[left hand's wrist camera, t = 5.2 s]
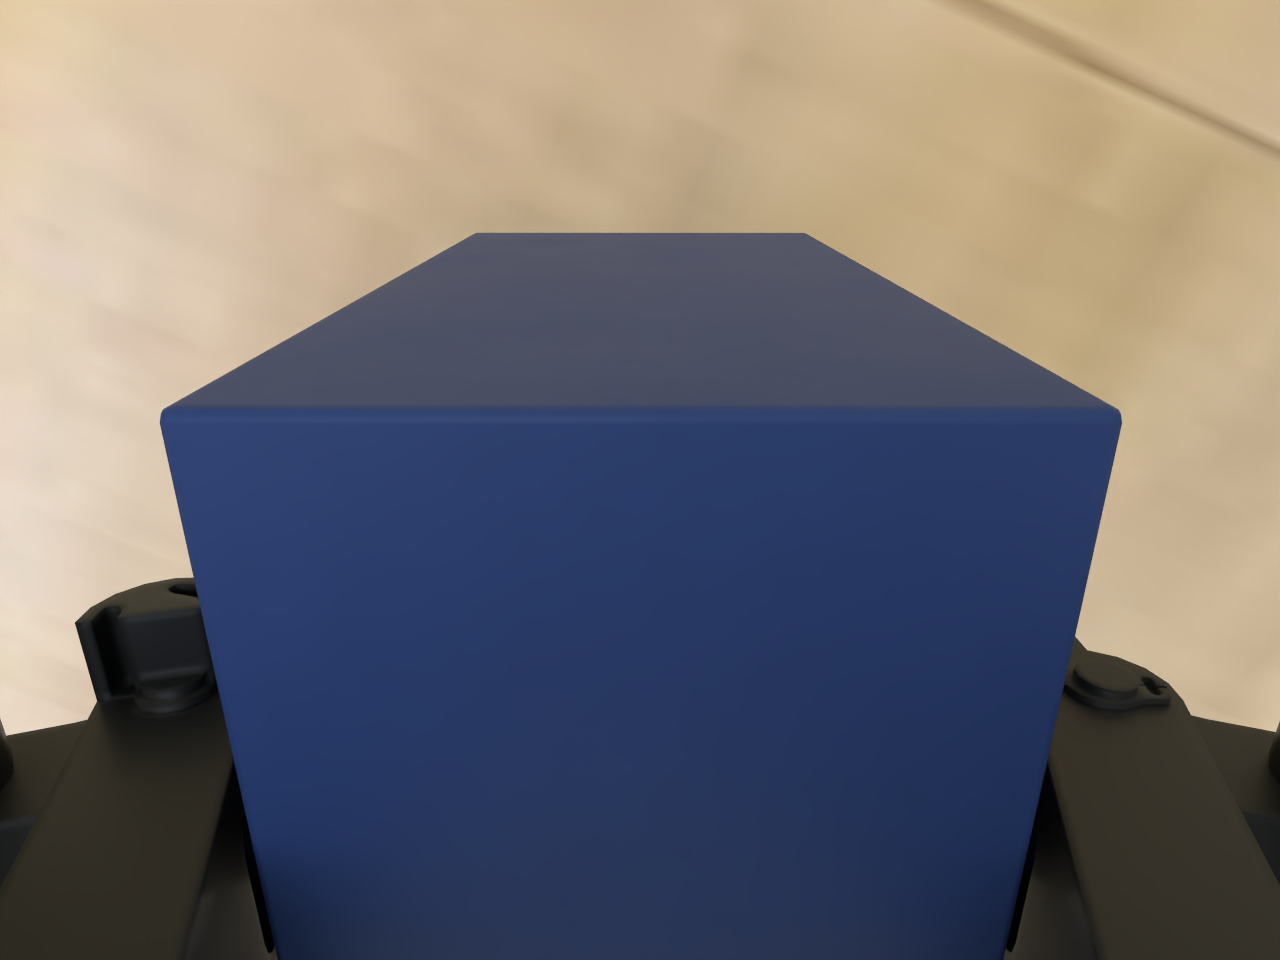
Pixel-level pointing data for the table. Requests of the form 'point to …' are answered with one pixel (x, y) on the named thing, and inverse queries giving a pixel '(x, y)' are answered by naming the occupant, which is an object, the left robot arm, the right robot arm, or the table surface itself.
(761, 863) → the bar
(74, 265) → the table surface
